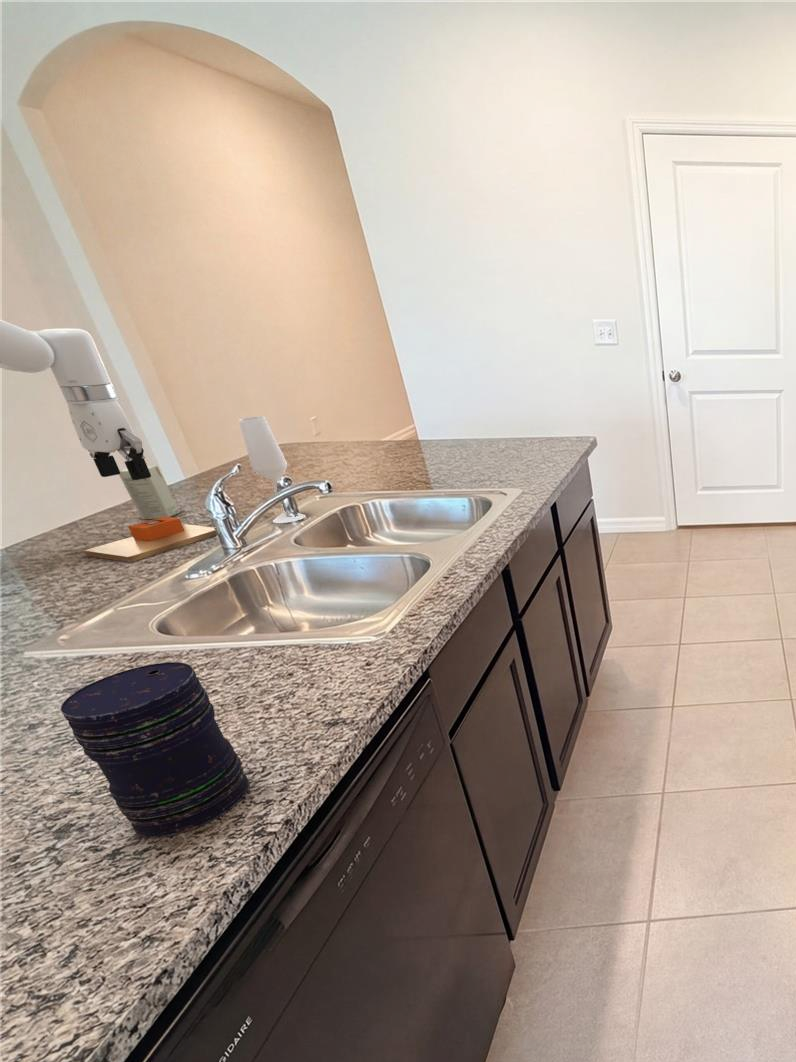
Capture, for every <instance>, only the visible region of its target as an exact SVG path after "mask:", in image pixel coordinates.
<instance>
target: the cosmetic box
mask: <svg viewBox="0 0 796 1062" xmlns="http://www.w3.org/2000/svg"><path fill="white" fill-rule="evenodd" d="M147 467H148V469H149V472H150V474H151V477H150V478H145V479H140V480H132V478H131V476H130V474H129V471H128V469H127V468H124V469H121V470H120V474H118V476H119V477H120V479H121V481H122V483H123V485H124V488H125V490H126V491H127V493H128V495H129V497H130V499H131V501H132V503H133V505H134V506H135V509H136V511H137V512H138V515H139V516H140V518H141V520H153V519H157V518H161V517H173V516H175V515H178V514H179V513H181V510H180V509H179V506H178V504H177V502H176V500H175V498H174V496H173V494H172V492H171V490H170V488H169V485H168V484H167V482H166V480H165V478H164V476H163V474H162V472H161V469H160V468H159V465H147Z"/></svg>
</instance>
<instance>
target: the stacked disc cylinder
mask: <svg viewBox="0 0 796 1062" xmlns="http://www.w3.org/2000/svg"><path fill="white" fill-rule="evenodd" d="M59 709H60V712H61V714H62V715H63V717H64V719H65V720H66V721H68V725H69V727H70V728H71V730H72V735H73V737H74V738H75V740H76V741H77V743H78V745H79V746H81V747H82V748H83V753H84V755H85V756H86V757H88V758H89V760H91V761H92V762H94V763H96V764H97V765H98V767H99V769H100V770H101V772H102V774H103V775H104V777H105V779H106V780H107V782H108V783H109V785H108V791H109V793H110V794H111V797H112V800H114V801H115V805H116V806H117V808H118V810H119V812H121V814H122V815H123V816H125V817H126V819H127V820H128V821H129V822H130V823H131V827H132V829H133V830H134V832H135V834H137V835H138V836H142V837H144V838H165V837H170V836H171V837H172V836H176V835H179V834H182V833H186V832H188V831H192V830H194V829H197V828H199V827H201V826H204V825H206V824H209V823H210V822H212V821H214V820H216V819H218V818H219V817H221V816H223V815H224V814H226V813H227V812H229V811H230V810H232V809H233V808H235V806H236V805H237V804H239V803H240V801H242V799H243V798H244V797H245V796H246V795H247V793H248V791H249V789H250V781H249V779H248V776H247V775H246V774H245V771H244V769H243V766H242V761H241V760H240V757H239V756H238V753H236V751H235V750H234V746H233V745H232V742H231V741H230V740H229V739H228V738H225V736H224V734H223V733H222V731H221V728H220V727H219V724H218V722H217V720H216V717H215V716H216V713H215V707H214V704H213V703H212V702H211V701H210V697H209V695H208V693H207V691H206V689H205V687H204V686H202V682H200V680H199V679H198V677H197V673H196V671H195V669H194V667H193V666H192V665H191V664H188V663H185V662H179V661H178V662H177V661H176V662H175V661H167V662H159V663H158V662H157V663H151V664H147V665H141V666H137V667H133V668H129V669H125V670H123V671H120V672H116V673H113V674H111V675H107V676H106V677H103V678H101V679H98V680H95V681H93V682H91V683H89V684H87V685H85V686H83V687H81V688H80V689H78V690H76V691H75V692H74V693H72V694H70V695H69V696H68V697H66V699H65V700H63V702H62V704H60V708H59Z"/></svg>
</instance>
